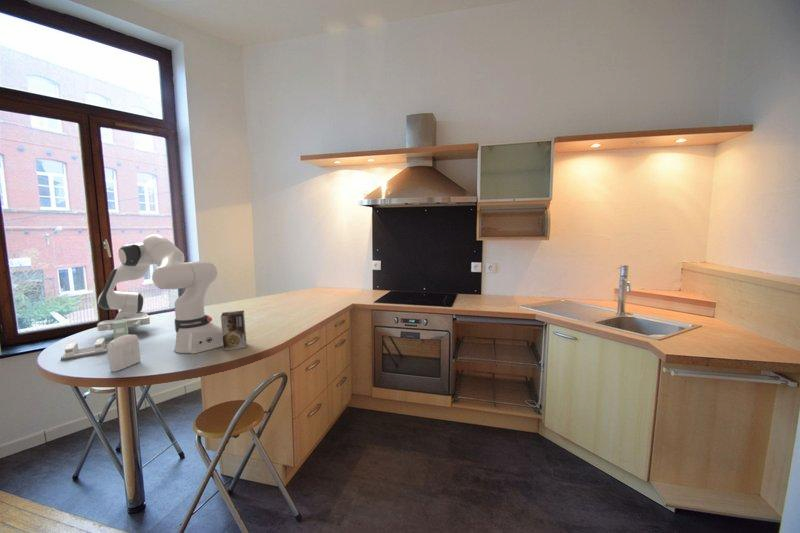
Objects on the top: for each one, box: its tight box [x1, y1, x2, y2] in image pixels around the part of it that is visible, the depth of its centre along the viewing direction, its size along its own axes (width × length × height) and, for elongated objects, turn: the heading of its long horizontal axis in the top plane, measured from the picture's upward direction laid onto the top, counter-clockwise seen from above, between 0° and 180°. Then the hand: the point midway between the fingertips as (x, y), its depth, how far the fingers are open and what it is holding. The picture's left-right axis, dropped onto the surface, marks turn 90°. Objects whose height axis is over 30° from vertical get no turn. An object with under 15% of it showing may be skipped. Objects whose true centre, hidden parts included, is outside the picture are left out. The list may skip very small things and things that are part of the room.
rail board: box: [60, 337, 108, 362], centre depth 141 cm, size 14×11×4 cm
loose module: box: [112, 319, 130, 340], centre depth 147 cm, size 4×6×12 cm
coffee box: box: [220, 310, 248, 352], centre depth 146 cm, size 9×6×16 cm
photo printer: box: [106, 334, 141, 373], centre depth 126 cm, size 10×4×12 cm, turn 170°
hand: (123, 326), depth 157 cm, fingers open, 8 cm apart
